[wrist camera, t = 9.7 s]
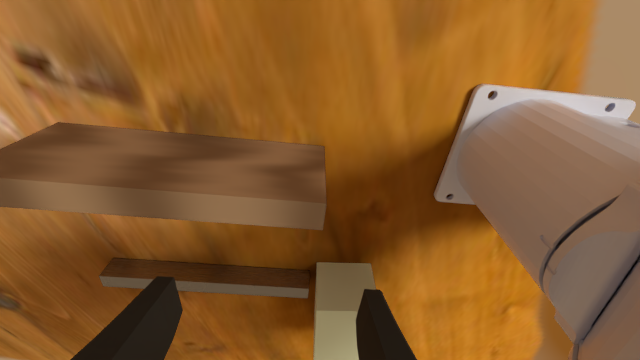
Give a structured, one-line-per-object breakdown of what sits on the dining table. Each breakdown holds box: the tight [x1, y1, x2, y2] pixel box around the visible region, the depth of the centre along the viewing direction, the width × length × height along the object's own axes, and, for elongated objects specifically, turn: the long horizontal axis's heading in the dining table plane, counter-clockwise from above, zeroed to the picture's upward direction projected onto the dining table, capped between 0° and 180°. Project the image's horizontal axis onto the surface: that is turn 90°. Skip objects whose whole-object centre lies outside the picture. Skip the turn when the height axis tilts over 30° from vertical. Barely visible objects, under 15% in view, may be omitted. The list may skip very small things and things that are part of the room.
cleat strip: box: [99, 258, 309, 298], centre depth 23 cm, size 16×1×2 cm, turn 84°
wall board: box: [0, 122, 327, 230], centre depth 15 cm, size 16×2×6 cm, turn 84°
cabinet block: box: [314, 262, 376, 360], centre depth 24 cm, size 4×8×4 cm, turn 178°
